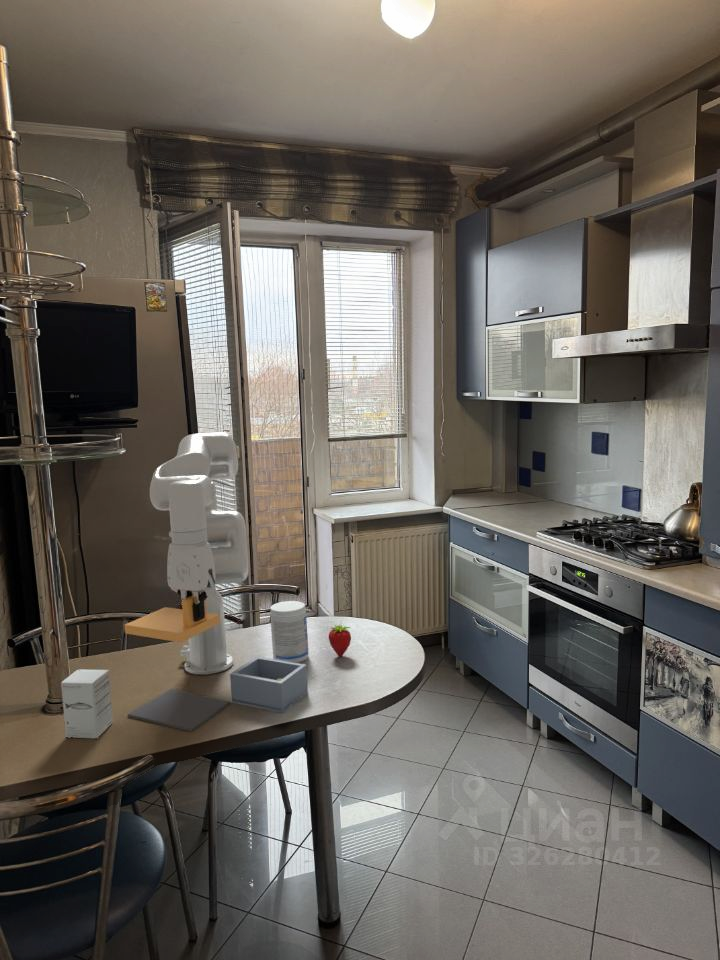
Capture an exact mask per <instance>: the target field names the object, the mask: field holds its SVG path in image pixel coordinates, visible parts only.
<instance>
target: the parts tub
mask: <svg viewBox="0 0 720 960" xmlns="http://www.w3.org/2000/svg"><path fill="white" fill-rule="evenodd" d="M229 681H230V694H231V704H237V705H242V706H246V707H251V708H256V709H261V710H266V711H270V712H274V713H275V712H276V713H281V714H283V713H285V712H286V711H287V710H288V709H290V708H291V707H292V706H293V705H295V704H297V702H298V701H300V700H301V699H302V698H303V697H305V696H306V695H307V694H309V693H308V692H309V688H308V686H309V685H308V670H307V664H304V663H293V662H287V661H281V660H275V659H274V658H269V657H263V656H255V658H252V659H251V660H249V661H248V662H247V663H245V664H243V665H241V666H240V667H238V668H237V669H236V670H234V671H232V672H231V673H230V674H229Z"/></svg>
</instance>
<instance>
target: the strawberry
mask: <svg viewBox="0 0 720 960" xmlns="http://www.w3.org/2000/svg"><path fill="white" fill-rule="evenodd" d="M342 622H343V620H341V621H340V623H339V625H334V626H335V627H331V628H330V629H331V630H330V631H329V633H328V641H329V644H330V646H331V648H332V650H333V651H334V652H335V653H336V655H337V656H338V657H339V658H341V657H343V656H344V654H345V652H347V650H348V649H349V647H350V644H351V641H352V640H351V639H352V636H351V632H350V631H349V630H348V629H350V628H351V627H349V626H344V627H343V625H341V624H342Z"/></svg>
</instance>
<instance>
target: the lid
mask: <svg viewBox="0 0 720 960" xmlns="http://www.w3.org/2000/svg"><path fill="white" fill-rule="evenodd" d="M200 594H201V592H200ZM193 604H194V595H192V596H190V597H188V598H185V599H183V600H182V599H181V607H182V609H181V608H175V607H168V606H167V607H162V608H159V609H157V610H156V611H155V610H154V611H153V612H151V613H149V614H146V615H144V616H142V617H139V618H136V619H134V620H132V621H130V622H127V623H126V624H124V634H126V635H133V636H138V637H145V638H149V639H150V638H151V639H159V640H164V641H169V642H175V643H184V642H185V641H189V639H190V638H192V637H193V636H195V635H197V634H199V633H201V632H203V631H205V630H207V629H209V628H211V627H213V626H215V625H217V624H219V623H220V615H219V614H212V613H207V612H206V601H204V608H205V618H203V619H201V620H199V621H197V622H194V618H193Z"/></svg>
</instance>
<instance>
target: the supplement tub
mask: <svg viewBox="0 0 720 960" xmlns="http://www.w3.org/2000/svg"><path fill="white" fill-rule="evenodd" d="M269 614H270V617H269V618H270V628H271V629H270V631H271V644H272V645H271V646H272V655H273V656H272V657H273V658H272V659H275V660H281V661H287V662H293V663H299V664H301V663H302V662H304V661H305V660H307V659H308V657H309V654H310V653H309V641H308V639H309V638H308V622H307V619H308V618H307V609H306V605H305V603H304V602H301V601H297V600H288V601H287V600H286V601H280V602H276V603H274V604H272V605H271V606H270V612H269Z"/></svg>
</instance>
